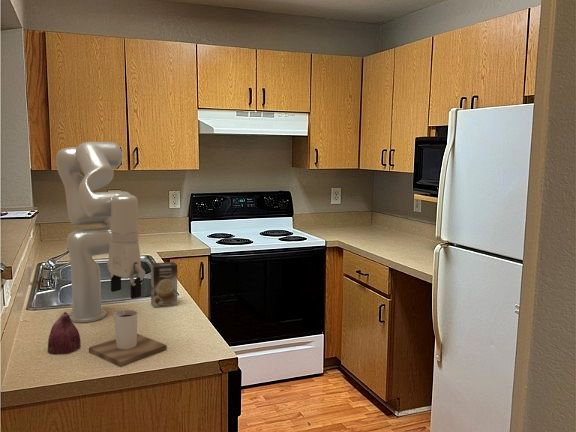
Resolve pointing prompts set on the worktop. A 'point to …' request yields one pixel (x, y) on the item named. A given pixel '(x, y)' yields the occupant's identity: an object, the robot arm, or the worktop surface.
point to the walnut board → (127, 351)
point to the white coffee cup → (126, 329)
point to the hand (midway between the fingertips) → (125, 294)
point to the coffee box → (163, 284)
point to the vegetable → (63, 336)
